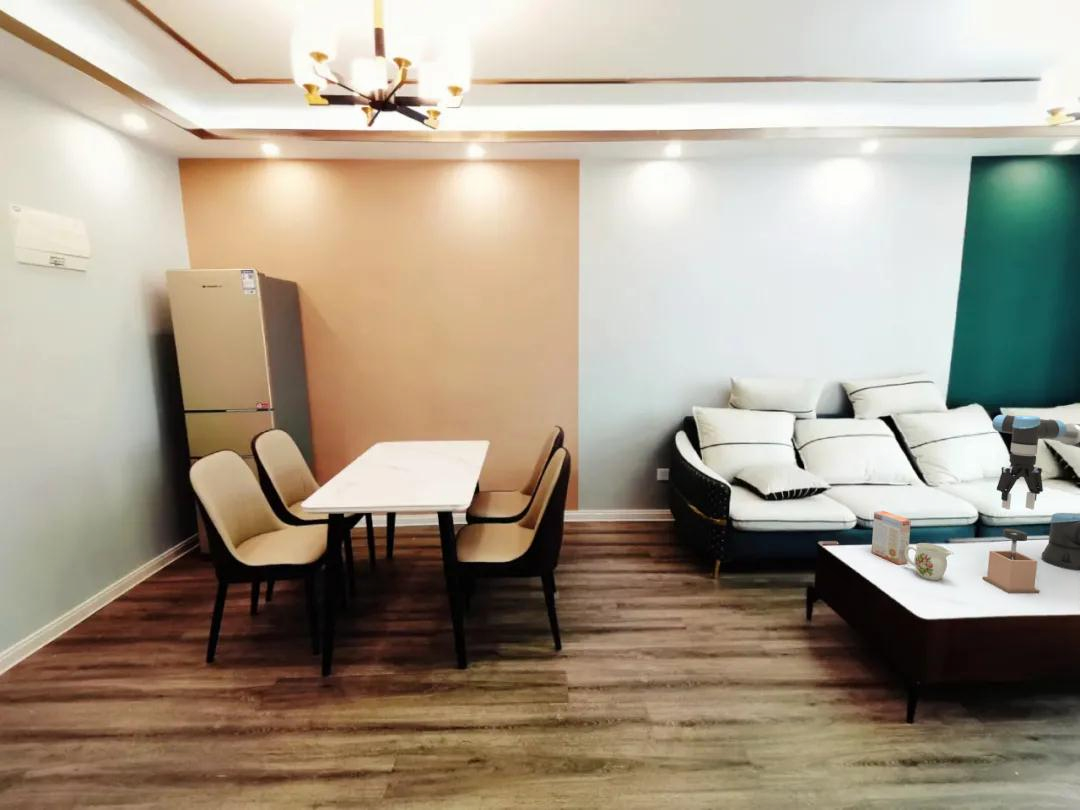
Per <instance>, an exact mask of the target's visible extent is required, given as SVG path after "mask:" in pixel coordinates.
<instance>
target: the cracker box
mask: <svg viewBox="0 0 1080 810" xmlns="http://www.w3.org/2000/svg"><path fill="white" fill-rule="evenodd" d="M911 524H912V523H911V519H908V518H905V517H902V516H899V515H896V514H894V513H890V512H888V511H885V510H877V511H874V513H873V527H872V537H871V538H872V539H871V540H872V543H871V553H872V554H873V553H874V555H876V556H878V557H880V558H883V559H885V560H887V561H889V562H892V563H893V564H896V565H904V564H908V563H909V562H908V561H907V559H906V558H905V549H906V548H907V547H908V546H910V535H911V534H910V533H911Z"/></svg>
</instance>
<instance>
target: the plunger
mask: <svg viewBox="0 0 1080 810" xmlns="http://www.w3.org/2000/svg"><path fill="white" fill-rule="evenodd" d="M1002 535H1003V536H1002V537H1004V538H1006V539H1009V540H1011V545H1010V546H1011V547H1010V549H1011V550H1010V551H1011V556H1010V560H1015V554H1016V552H1017V542H1026V541H1027V540H1028V533H1027V532H1025V531H1023V530H1020V529H1019V530H1018V529H1013V528H1004V529H1003V533H1002Z"/></svg>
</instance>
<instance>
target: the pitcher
mask: <svg viewBox="0 0 1080 810" xmlns="http://www.w3.org/2000/svg"><path fill="white" fill-rule="evenodd" d="M910 550H913V551H914V552H915V553H914V557H913V558H914V559H913V560H914V561H912V560H911V558H910V557H909V551H910ZM954 554H955V552H954V551H951V550H948V548H946V547H944V546H941V545H938V544H933V543H929V542H919V543H917V544H916V547H915V546H914V545H909V546H908V547H907V548H906V549H905V558H906V559H907V561H908V563H909V564H910V565H911V566H913V567H914V568H915V570H916V573H918V575H919V577H921V578H923V579H926V580H929V581H939V580H940V579H942V577H943V576H944V575H945V573H946V570H947V567H948V561H947V557H948V556H949V555H954Z"/></svg>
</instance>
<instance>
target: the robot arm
mask: <svg viewBox="0 0 1080 810" xmlns="http://www.w3.org/2000/svg"><path fill="white" fill-rule="evenodd" d="M992 428H993V429H994V430H995V431H997V432H999V433H1006V434H1011V443H1010V452H1011V453H1010V454H1009V460H1008V461H1009V463H1010V465H1009V467H1006V466H1002V467H1001V474H1000V477H999V480H998V483H997V486H996V491H999V492H1001V500H1002V501H1001V502H1002V503H1001V508H1003V509H1006V510H1010V509H1011V502H1012V501H1011V500H1012V493H1010V492H1011V490H1012V489H1013V487H1014V485H1015V484H1016V482H1017V481H1018V480H1019V479H1020V478H1024V481H1025V483H1026V484H1025V485H1026V486H1027V489H1028V491H1027V492H1026V496H1025V497H1026V498H1025V499H1026V500H1025V509H1030V510H1035V502H1036V501H1037V496H1038V495H1040V494H1041V493H1043V491H1044V488H1043V486H1044V485H1043V480H1042V473H1043V468H1041V467H1038V466H1035V465H1036V464H1037V456H1036V455H1037V454H1038V443H1039V440H1042V439H1043V440H1050V441H1057V442H1060V443H1061V444H1063V445H1067V446H1071V447H1074V448H1079V449H1080V423H1071V422H1070V423H1069V422H1068V423H1064V422H1063V421H1061V420H1059V419H1049V418H1048V419H1042V418H1040V417H1039V416H1037V415H1023V414H1022V415H1009V414H998V415H996V416H995V417H994V418H993V420H992ZM1049 523H1050V527H1049V536H1048V544H1047V545H1046V547H1045V548H1044V550H1043V551H1042V552H1041V560H1042V561H1044V562H1045V563H1047V564H1049V565H1053V566H1056V567H1059V568H1064V569H1068V570H1072V569H1073V570H1074V571H1080V514H1079V513H1073V512H1072V513H1071V512H1056V513H1053V514H1052V516H1051V519H1050V521H1049ZM1073 570H1072V571H1073Z"/></svg>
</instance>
